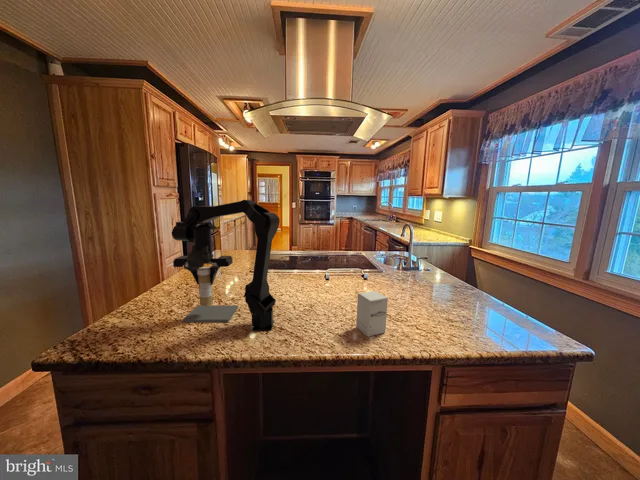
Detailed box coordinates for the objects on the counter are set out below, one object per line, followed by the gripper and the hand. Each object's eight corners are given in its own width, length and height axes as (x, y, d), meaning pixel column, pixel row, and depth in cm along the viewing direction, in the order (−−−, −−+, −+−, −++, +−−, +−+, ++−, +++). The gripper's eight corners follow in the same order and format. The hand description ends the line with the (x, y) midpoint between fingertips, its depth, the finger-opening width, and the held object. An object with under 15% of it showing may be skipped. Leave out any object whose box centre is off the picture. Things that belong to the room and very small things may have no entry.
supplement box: (367, 337, 80) (369, 300, 78) (355, 327, 87) (357, 292, 85) (386, 333, 83) (388, 297, 81) (373, 323, 90) (374, 289, 88)
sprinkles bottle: (202, 301, 93) (199, 266, 91) (214, 301, 93) (212, 266, 91) (197, 306, 88) (195, 270, 86) (211, 306, 89) (208, 270, 87)
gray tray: (238, 307, 100) (237, 305, 100) (228, 322, 89) (228, 319, 88) (197, 307, 100) (197, 305, 100) (182, 322, 88) (182, 319, 88)
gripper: (162, 246, 79) (166, 292, 81) (222, 246, 80) (224, 292, 82) (179, 240, 90) (182, 281, 92) (232, 240, 91) (233, 281, 93)
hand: (205, 284), depth 90 cm, fingers closed on sprinkles bottle, 4 cm apart
